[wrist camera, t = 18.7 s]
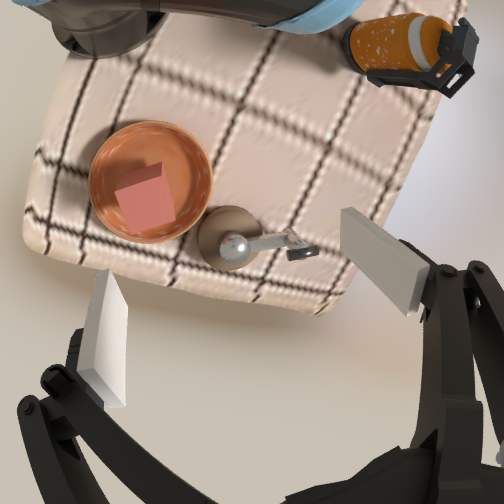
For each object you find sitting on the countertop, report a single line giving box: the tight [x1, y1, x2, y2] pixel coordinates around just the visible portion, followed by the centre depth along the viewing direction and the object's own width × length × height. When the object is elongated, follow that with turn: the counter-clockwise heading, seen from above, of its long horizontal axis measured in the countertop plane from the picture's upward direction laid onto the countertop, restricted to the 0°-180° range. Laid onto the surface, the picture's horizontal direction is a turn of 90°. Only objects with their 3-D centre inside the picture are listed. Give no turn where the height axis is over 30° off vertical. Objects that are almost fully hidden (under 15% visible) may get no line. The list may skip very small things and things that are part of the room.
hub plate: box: [197, 206, 262, 271], centre depth 42 cm, size 9×9×3 cm
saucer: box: [88, 121, 213, 244], centre depth 35 cm, size 16×16×3 cm
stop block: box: [115, 162, 176, 235], centre depth 31 cm, size 5×5×7 cm
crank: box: [218, 228, 319, 265], centre depth 39 cm, size 12×4×6 cm, turn 93°
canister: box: [343, 13, 479, 98], centre depth 26 cm, size 9×11×20 cm
